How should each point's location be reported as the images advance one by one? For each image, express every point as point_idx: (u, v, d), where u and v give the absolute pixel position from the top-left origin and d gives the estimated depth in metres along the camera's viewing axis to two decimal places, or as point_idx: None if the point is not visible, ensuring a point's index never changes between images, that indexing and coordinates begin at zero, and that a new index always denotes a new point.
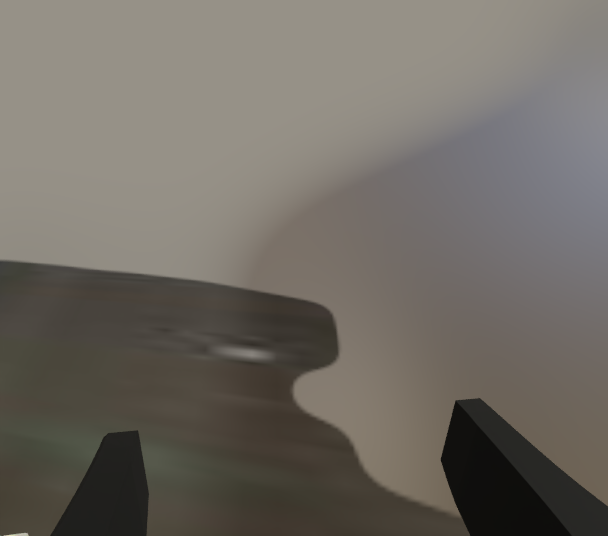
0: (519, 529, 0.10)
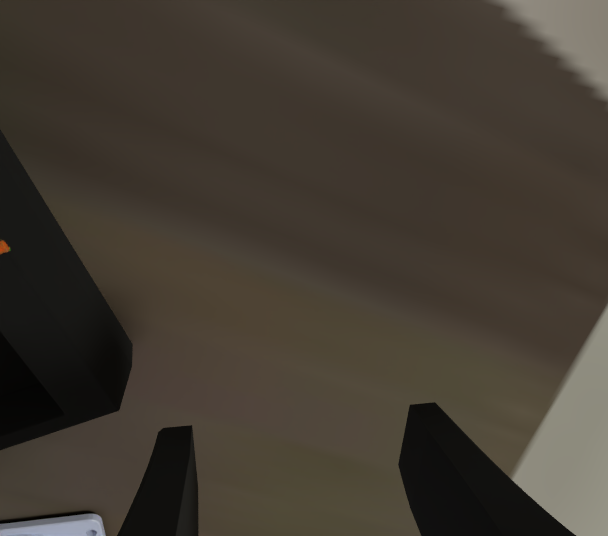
0: None
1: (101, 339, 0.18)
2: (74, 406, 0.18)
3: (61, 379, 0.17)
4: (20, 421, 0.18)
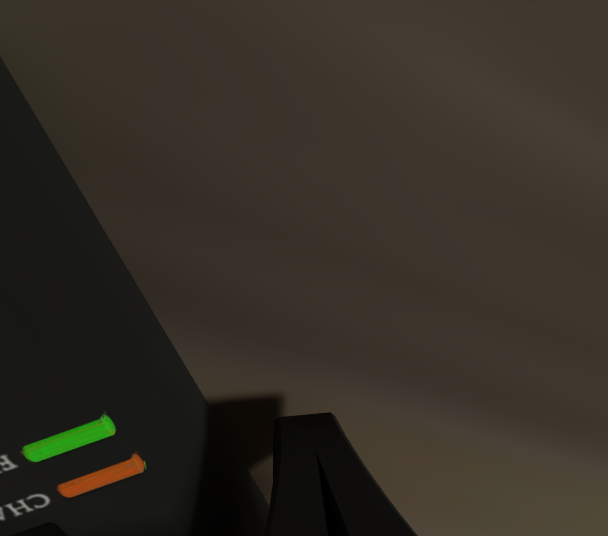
0: None
1: None
2: None
3: None
4: None
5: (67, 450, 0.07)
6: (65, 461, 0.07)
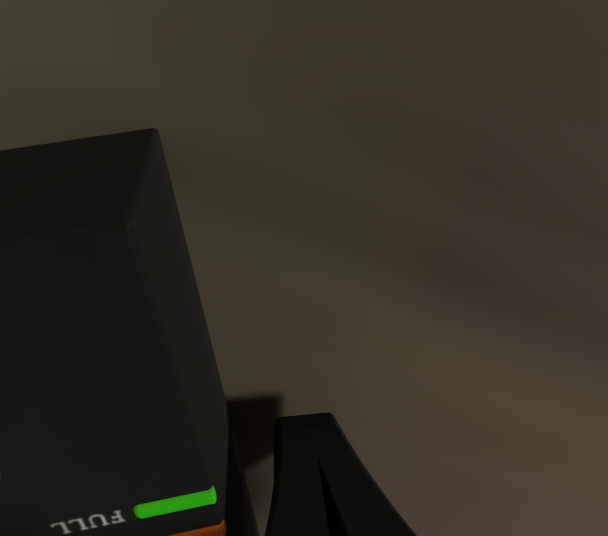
0: None
1: None
2: None
3: None
4: None
5: (171, 512, 0.08)
6: (167, 521, 0.08)
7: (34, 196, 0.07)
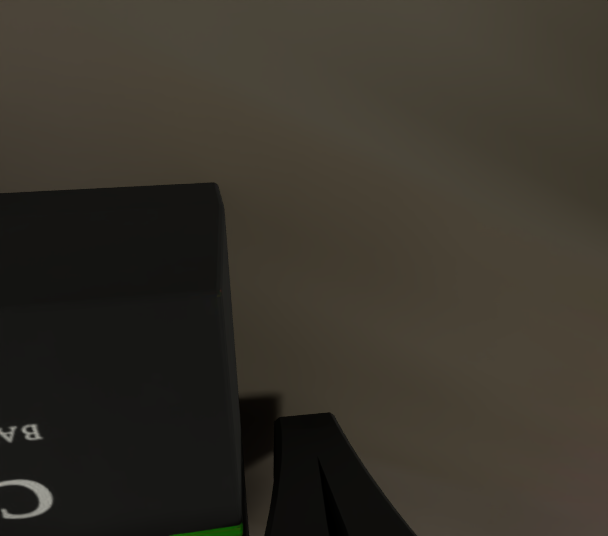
0: None
1: None
2: None
3: None
4: None
5: None
6: None
7: (123, 253, 0.07)
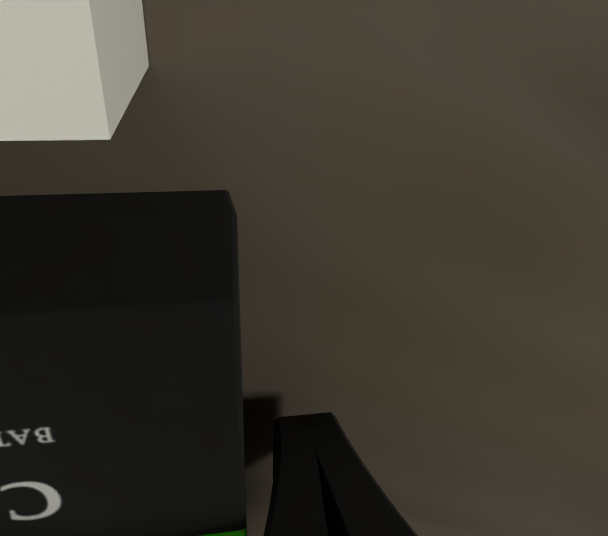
0: None
1: None
2: None
3: None
4: None
5: None
6: None
7: (140, 259, 0.07)
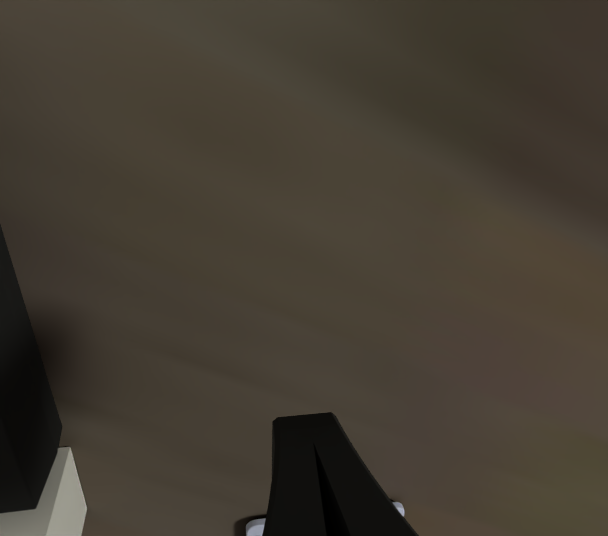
0: None
1: (37, 432, 0.18)
2: None
3: None
4: None
5: None
6: None
7: None
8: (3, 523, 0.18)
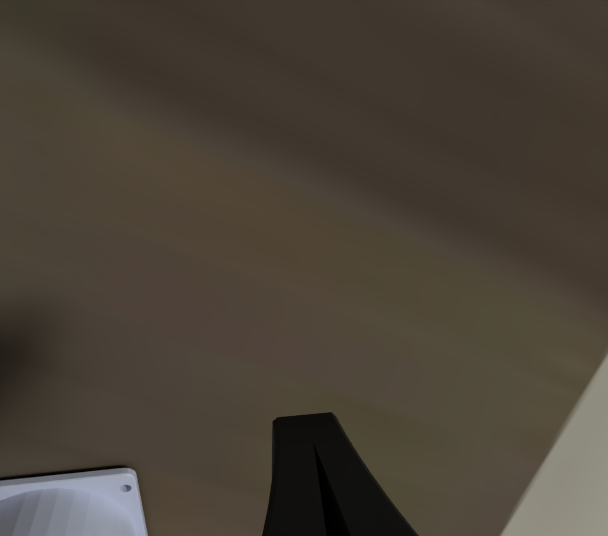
0: None
1: None
2: None
3: None
4: None
5: None
6: None
7: None
8: None
